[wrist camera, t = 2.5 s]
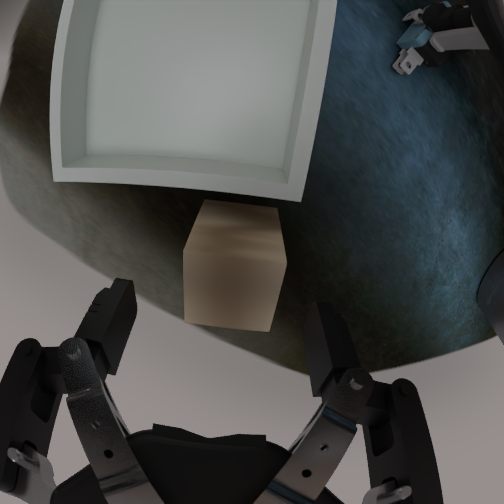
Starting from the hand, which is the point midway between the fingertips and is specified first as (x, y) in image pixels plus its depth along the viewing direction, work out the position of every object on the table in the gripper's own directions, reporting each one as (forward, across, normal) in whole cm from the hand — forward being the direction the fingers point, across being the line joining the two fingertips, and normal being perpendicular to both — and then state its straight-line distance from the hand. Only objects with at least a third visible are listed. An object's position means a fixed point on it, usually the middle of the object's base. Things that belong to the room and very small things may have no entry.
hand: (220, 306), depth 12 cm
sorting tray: (+7, +4, -11) cm, 13 cm away
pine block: (+7, 0, 0) cm, 7 cm away
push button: (+7, -9, -15) cm, 19 cm away
